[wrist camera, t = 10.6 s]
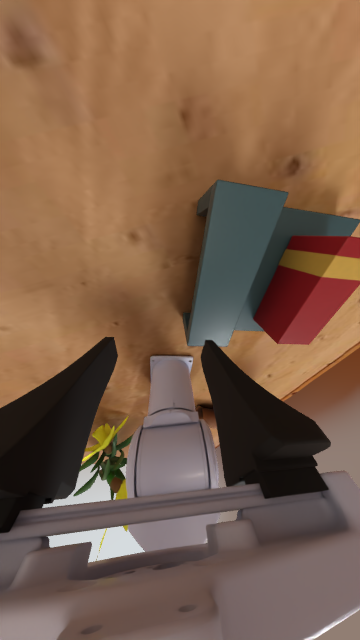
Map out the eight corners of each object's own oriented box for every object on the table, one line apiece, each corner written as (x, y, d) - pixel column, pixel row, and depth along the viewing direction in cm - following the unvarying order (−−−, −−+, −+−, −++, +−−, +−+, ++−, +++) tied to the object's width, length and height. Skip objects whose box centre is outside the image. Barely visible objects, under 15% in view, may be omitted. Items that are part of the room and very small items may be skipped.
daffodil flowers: (74, 441, 45) (58, 444, 22) (120, 417, 54) (142, 401, 31) (81, 511, 38) (66, 623, 15) (132, 469, 47) (173, 499, 24)
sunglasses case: (186, 419, 39) (195, 440, 33) (194, 395, 39) (204, 412, 33) (234, 424, 44) (250, 443, 38) (241, 403, 44) (258, 419, 38)
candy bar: (278, 320, 19) (309, 345, 15) (252, 319, 19) (277, 344, 14) (326, 240, 14) (396, 242, 10) (291, 235, 13) (349, 236, 9)
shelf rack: (275, 323, 23) (306, 348, 18) (182, 318, 21) (187, 346, 16) (335, 221, 15) (418, 215, 10) (198, 200, 13) (217, 178, 8)
